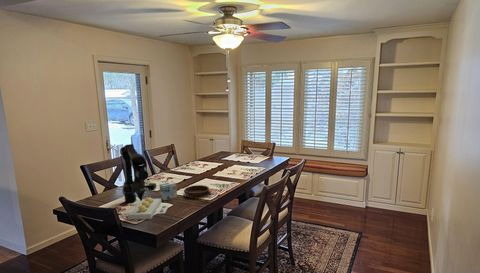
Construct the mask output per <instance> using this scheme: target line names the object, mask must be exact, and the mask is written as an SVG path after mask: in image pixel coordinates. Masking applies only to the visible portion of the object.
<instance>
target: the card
mask: <svg viewBox="0 0 480 273" xmlns="http://www.w3.org/2000/svg"><path fill="white" fill-rule="evenodd" d="M168 208H169V205H160V206H159V208H158V209H157V211H156V215H158V214H160V215H161V214H162V215H163V214H165V213H166V212H167V210H168Z"/></svg>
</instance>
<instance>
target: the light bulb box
mask: <svg viewBox="0 0 480 273" xmlns="http://www.w3.org/2000/svg"><path fill="white" fill-rule="evenodd" d="M177 187H178V186H177V182H175V181H174V180H170V181H166V182H162V183H159V196H160V198H161V200H163V201H167V200H171V199H175V198H177V197H178V192H177V191H178V188H177ZM160 198H159V199H160Z"/></svg>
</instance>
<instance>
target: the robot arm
mask: <svg viewBox="0 0 480 273" xmlns="http://www.w3.org/2000/svg"><path fill="white" fill-rule="evenodd" d="M119 154H120V156H121V158H122V159H123V164H124V175H125V176H124V177H125V180H124V182H123V186H122V191H121V192H122V194H123V196H124V204H133V203H135V202H136V201H137V197H138V199H139V201H142V199H144V194H145V193H146V192H147V190H148V191H154V190H156V189H157V184H156V183H154V182H152V183H151V182H150V183H149V184H147V185H146V182H145V180H147V179H148V177H149V172H148V171H146V170H145V168H148V167H147V161H146V159H145V157H144V156H143V154H140V153H138V152H137V150H136V149H135V146H134V144H133V143H130V144H125V145H124V146H122V147H120V149H119Z"/></svg>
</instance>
